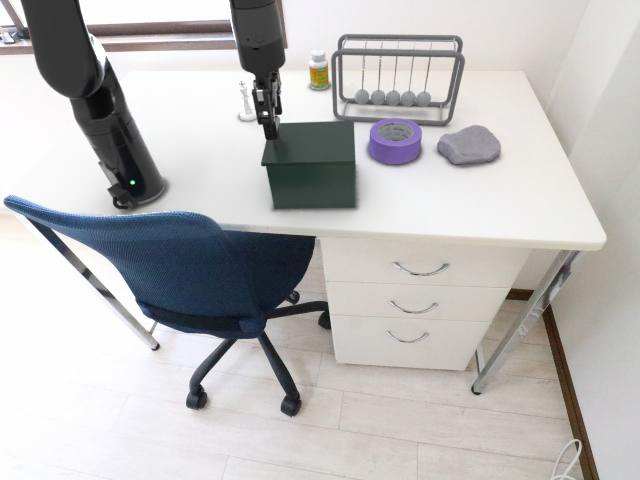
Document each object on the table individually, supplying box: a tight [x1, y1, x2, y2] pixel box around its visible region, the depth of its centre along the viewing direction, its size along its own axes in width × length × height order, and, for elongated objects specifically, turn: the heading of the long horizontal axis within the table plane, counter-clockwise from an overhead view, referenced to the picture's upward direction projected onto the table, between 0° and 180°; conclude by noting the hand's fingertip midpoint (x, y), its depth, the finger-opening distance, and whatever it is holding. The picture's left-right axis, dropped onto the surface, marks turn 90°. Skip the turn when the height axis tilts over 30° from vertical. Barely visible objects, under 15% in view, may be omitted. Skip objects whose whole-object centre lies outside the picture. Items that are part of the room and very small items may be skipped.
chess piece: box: [238, 79, 257, 122], centre depth 99 cm, size 5×5×10 cm
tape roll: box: [368, 117, 423, 165], centre depth 86 cm, size 12×12×5 cm
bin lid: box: [260, 115, 357, 167], centre depth 71 cm, size 17×14×5 cm
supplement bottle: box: [308, 49, 330, 91], centre depth 108 cm, size 5×5×10 cm
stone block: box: [436, 124, 502, 165], centre depth 85 cm, size 12×5×10 cm
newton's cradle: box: [330, 33, 466, 126], centre depth 93 cm, size 30×10×18 cm, turn 79°
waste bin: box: [265, 164, 356, 210], centre depth 77 cm, size 17×14×11 cm
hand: (274, 126), depth 70 cm, fingers open, 8 cm apart
